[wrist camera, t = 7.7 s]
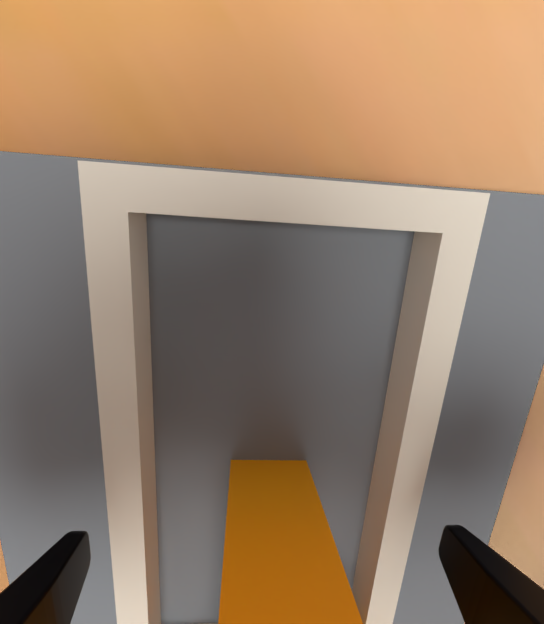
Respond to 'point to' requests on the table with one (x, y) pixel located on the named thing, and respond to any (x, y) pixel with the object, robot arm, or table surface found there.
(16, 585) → the robot arm
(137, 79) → the table surface
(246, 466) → the pipe clamp
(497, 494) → the jig board
